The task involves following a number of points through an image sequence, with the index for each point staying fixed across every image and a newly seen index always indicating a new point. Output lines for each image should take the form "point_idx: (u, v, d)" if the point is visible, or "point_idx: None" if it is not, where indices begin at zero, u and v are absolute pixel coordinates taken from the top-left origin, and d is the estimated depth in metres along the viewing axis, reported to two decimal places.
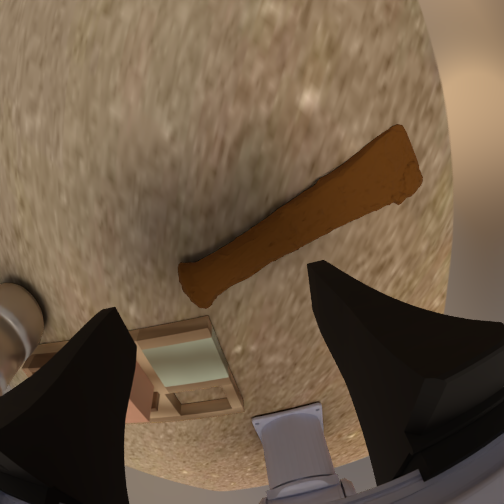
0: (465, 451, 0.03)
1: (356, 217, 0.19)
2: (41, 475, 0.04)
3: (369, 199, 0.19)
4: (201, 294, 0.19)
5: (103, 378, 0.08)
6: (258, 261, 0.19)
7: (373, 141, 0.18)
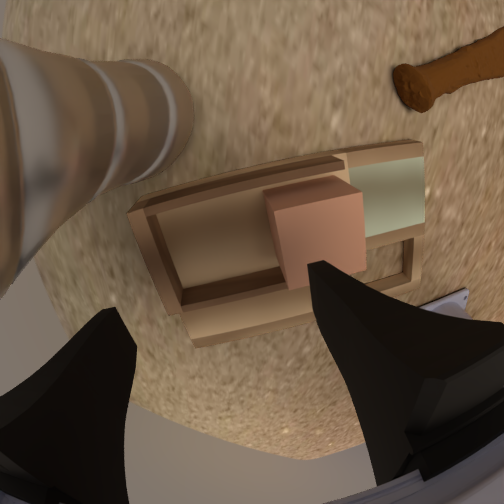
0: (465, 451, 0.03)
1: (502, 74, 0.15)
2: (41, 475, 0.04)
3: None
4: (432, 86, 0.14)
5: (103, 378, 0.08)
6: (462, 76, 0.14)
7: (498, 29, 0.13)
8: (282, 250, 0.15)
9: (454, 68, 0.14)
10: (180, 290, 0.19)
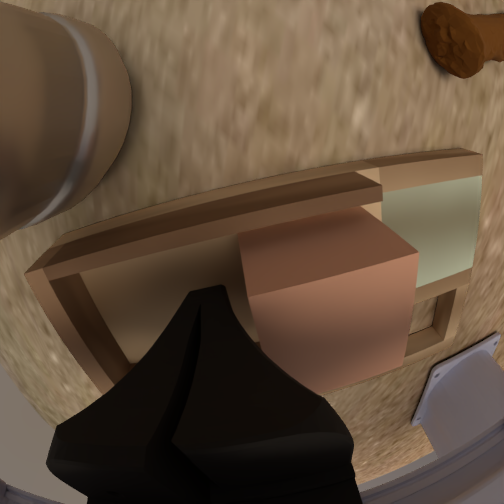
0: None
1: None
2: (186, 492, 0.04)
3: None
4: (482, 38, 0.06)
5: None
6: None
7: None
8: None
9: None
10: (123, 369, 0.12)
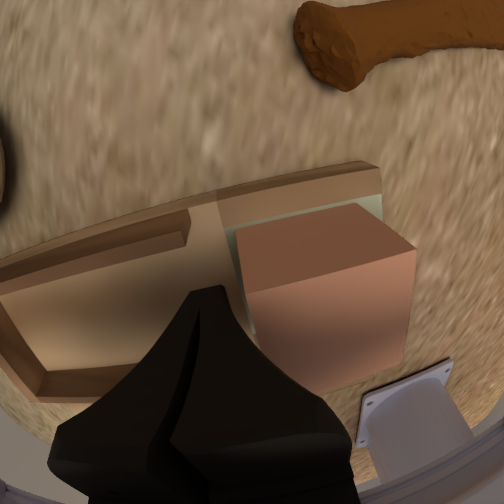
0: None
1: None
2: (188, 492, 0.04)
3: None
4: (360, 35, 0.07)
5: None
6: (435, 28, 0.07)
7: None
8: None
9: (418, 12, 0.07)
10: (38, 375, 0.12)
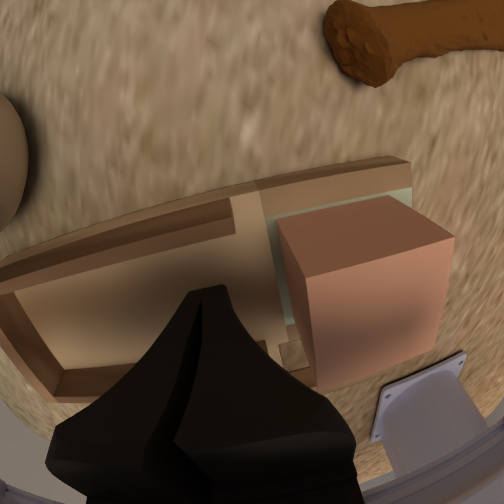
0: None
1: None
2: (185, 492, 0.04)
3: None
4: (391, 34, 0.07)
5: None
6: (455, 30, 0.07)
7: None
8: (314, 340, 0.08)
9: (440, 14, 0.07)
10: (56, 375, 0.12)
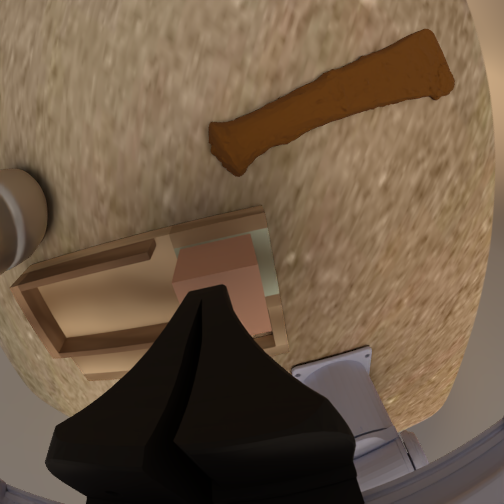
0: None
1: (399, 98, 0.16)
2: (185, 492, 0.04)
3: (410, 83, 0.15)
4: (237, 147, 0.15)
5: None
6: (304, 118, 0.15)
7: (408, 36, 0.14)
8: None
9: (289, 111, 0.15)
10: (61, 340, 0.20)
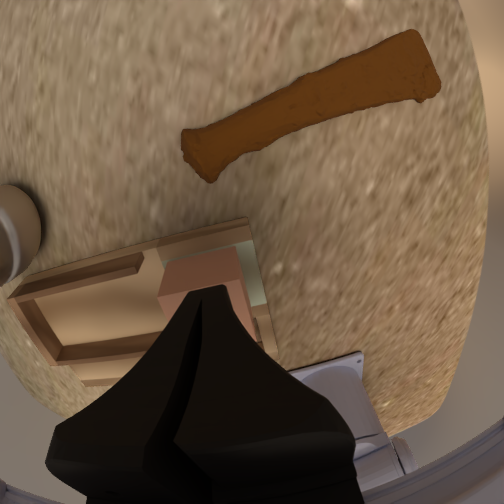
0: None
1: (380, 101, 0.16)
2: (185, 492, 0.04)
3: (392, 85, 0.15)
4: (207, 155, 0.15)
5: None
6: (277, 124, 0.15)
7: None
8: None
9: (261, 116, 0.15)
10: (57, 348, 0.20)
